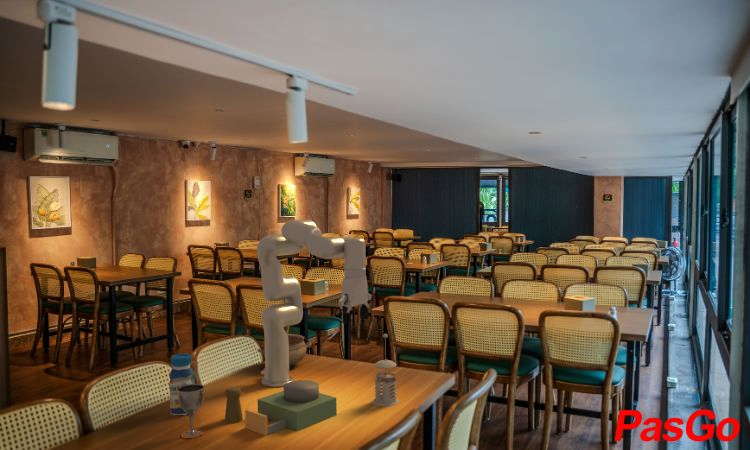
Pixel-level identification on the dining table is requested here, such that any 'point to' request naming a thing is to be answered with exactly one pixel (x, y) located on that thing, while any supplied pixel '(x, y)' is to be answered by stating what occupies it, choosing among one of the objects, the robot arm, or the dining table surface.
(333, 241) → the robot arm
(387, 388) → the french press
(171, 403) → the beverage bottle
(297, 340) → the cooking pot
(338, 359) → the dining table surface
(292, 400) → the green box with dome
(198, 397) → the wine glass
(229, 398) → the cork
